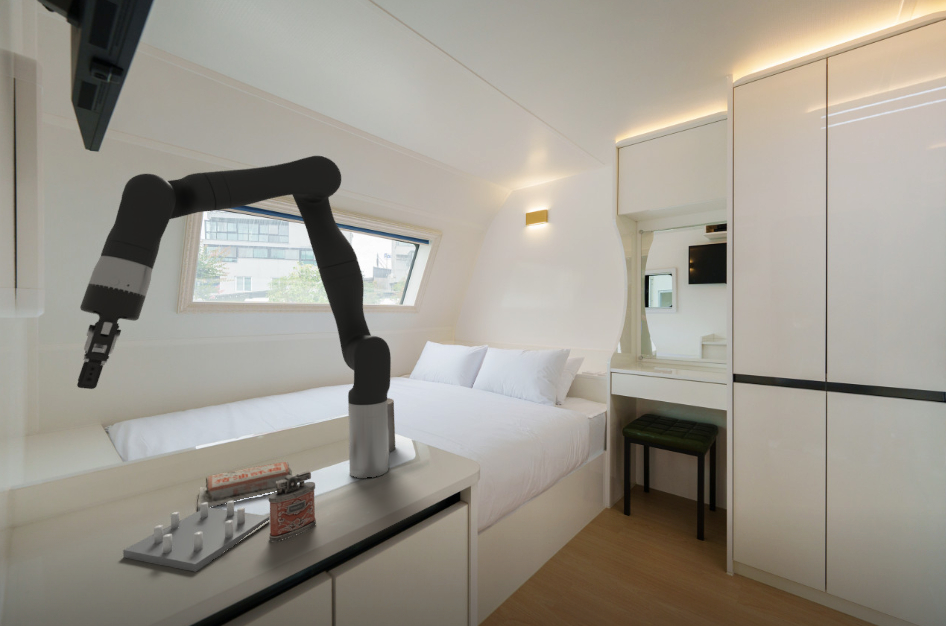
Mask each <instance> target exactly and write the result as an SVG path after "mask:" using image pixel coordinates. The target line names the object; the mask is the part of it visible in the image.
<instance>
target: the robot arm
mask: <svg viewBox="0 0 946 626" xmlns="http://www.w3.org/2000/svg"><path fill="white" fill-rule="evenodd" d="M341 183H342V174H341V170H340V168H339V166H338V165H337V164H336V163H335V162H334V161H333V160H332V159H331V158H328V157H327V156H324V155H319V154H318V155H317V154H313V155H309V156H307V157H303V158H301V159H297V160H293V161H288V162H285V163H284V162H283V163H280V164H274V165H269V166H268V165H267V166H260V167H251V168H241V169H231V170H228V169H227V170H219V171H217V170H216V171H207V172H206V171H205V172H196V173H191V174H188V175H186V176H184V177H182V178H179V179H173V180H172V179H171V180H170V179H169V180H167V179H166V178H165V179H164V178H163V177H161V176H160V175H156V174H152V173H140V174H137V175H135V176H133V177H131V178H130V179H129V180H128V181H127V182H126V183H125V185H124V188H123V191H122V193H121V200H120V201H119V202H120V203H119V205H118V209H117V212H116V213H117V215H116V218H115V222H114V224H113V226H112V228H111V230H109V233H108V235H107V236H106V240H105V242H104V245H103V248H102V250H101V254H100V256H99V258H98V261H96V263H95V266H94V268H93V270H92V273H91V276H90V278H89V282H88V284H87V287H86V290H85V292H84V295H83V297H82V301H81V304H80V311H82V312H86V313H89V314H93V315H94V314H95V315H97V316H98V320H97V321H96V322H95V323H94V324H89V326H88V329H87V332H86V336H87V338H86V341H85V344H84V346H83V350H84V351H85V352H84V355H83V363H82V367H81V368H80V369H81V370H80V372H79V376H78V379H77V384H76V385H77V386H76V387H77V388H78V389H79V388H80V389H89V390H95V388H97V386H98V383H99V380H100V376H101V375H102V371H103V368H104V366H105V365H106V364H107V363H108V360H109V359H110V355H111V354H112V353H113V351H114V349H115V345H116V343H117V341H118V340H119V338H120V335H121V332H122V330H121V329H119V328H120V324H119V323H118V321H119V320H120V319H121V320H125V321H127V320H128V321H137V320H139V318H140V315H141V312H142V309H143V307H144V303H145V300H146V296H147V293H148V290H149V287H150V285H151V281H152V273H153V269H154V266H155V263H156V260H157V257H158V254H159V250H160V244H161V241H162V238H163V235H164V233H165V231H166V229H167V227H168V225H169V223H170V220H173V219H177V218H181V217H185V216H189V215H194V214H198V213H204V212H213V211H214V212H215V211H220V210H229V209H235V208H239V207H243V206H248V205H251V204H255V203H260V202H263V201H267V200H270V199H274V198H275V199H276V198H279V197H284V196H292V197H293V200H294V202H295V204H296V206H297V209H298V211H299V213H300V216H301V218H302V221H303V223H304V226H305V229H306V232H307V235H308V239H309V242H310V246H311V248H312V251H313V255H314V259H315V263H316V266H317V269H318V273H319V276H320V280H321V282H322V285H323V286H322V287H323V288H324V291H325V293H326V296H327V297H326V298H327V299H328V303H329V306H330V308H331V309H330V310H331V311H332V315H333V317H334V320H335V324H336V327H337V334H338V337H339V338H338V339H339V343H340V350H341V354H342V357H343V360H344V362H345V364H346V365H347V367H349V368H350V369H351V370H353V384H352V385H353V386H352V388H350V390H348V395H347V402H348V407H347V409H348V446H349V447H348V452H349V455H348V456H349V457H348V459H349V460H348V461H349V463H348V464H349V475H350V476H351V477H353V476H354V477H353V478H356V477H357V478H356V479H368V478H367V477H372V478H376V476H377V477H379V476H382V475H385V474H386V473H387V472H388V471H389V466H390V452H389V430H388V414H387V398H388V393H389V390H390V387H391V370H392V369H391V367H392V365H391V364H392V362H391V359H392V358H391V350H390V347H389V345H388V343H387V341H386V340H385V339H384V338H382V337H380V336H378V335H376V336H375V335H372V334H371V332H370V330H369V327H368V323H367V320H366V317H365V312H364V291H365V290H364V278H363V275H362V274H363V273H362V269H361V266H360V263H359V260H358V256H357V254H356V251H355V249H354V248H353V246H352V245H351V243H350V242H349V240H348V239H347V237H346V236H345V235H344V233H343V232H342V231H341V229H340V228H339V226H338V224H337V222H336V220H335V217H334V215H333V210H332V208H331V203H330V197H332V196H334V194H335V193H337V191H338V190H339V189H340V188H341V187H340V186H341Z"/></svg>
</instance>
